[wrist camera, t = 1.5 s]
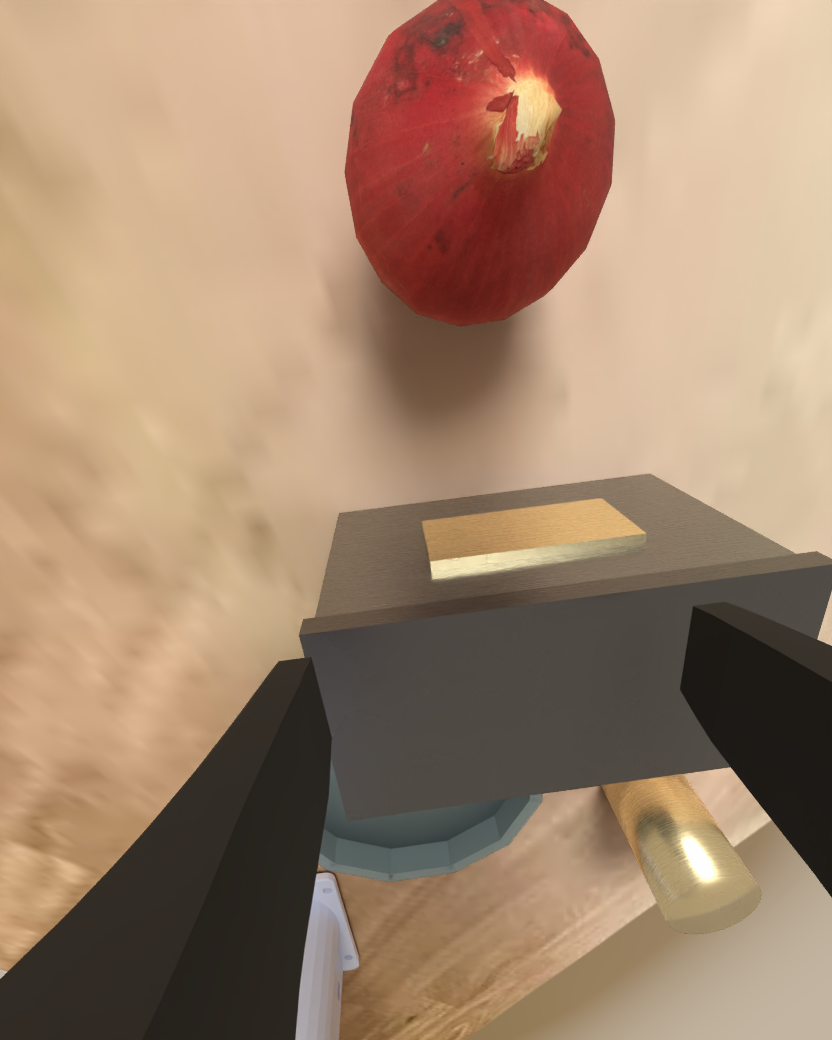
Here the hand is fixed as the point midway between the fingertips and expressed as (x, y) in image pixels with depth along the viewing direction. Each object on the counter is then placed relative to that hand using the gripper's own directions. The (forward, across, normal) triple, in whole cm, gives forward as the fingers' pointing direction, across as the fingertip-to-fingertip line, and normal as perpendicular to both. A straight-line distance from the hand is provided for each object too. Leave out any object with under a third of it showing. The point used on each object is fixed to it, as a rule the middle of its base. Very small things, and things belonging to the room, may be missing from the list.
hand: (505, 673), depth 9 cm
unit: (+9, -2, +3) cm, 10 cm away
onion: (+10, -1, -9) cm, 13 cm away
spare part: (+9, -9, +17) cm, 21 cm away
